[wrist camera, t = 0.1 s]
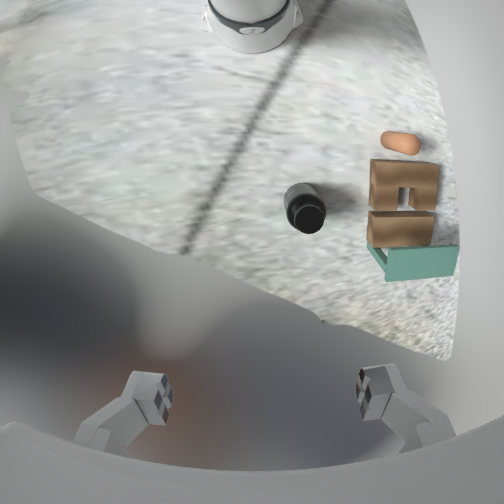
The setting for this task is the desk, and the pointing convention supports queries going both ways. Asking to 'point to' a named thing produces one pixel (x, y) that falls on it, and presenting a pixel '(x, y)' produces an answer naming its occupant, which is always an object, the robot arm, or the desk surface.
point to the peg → (400, 142)
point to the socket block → (386, 198)
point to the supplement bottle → (304, 208)
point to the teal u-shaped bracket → (416, 261)
